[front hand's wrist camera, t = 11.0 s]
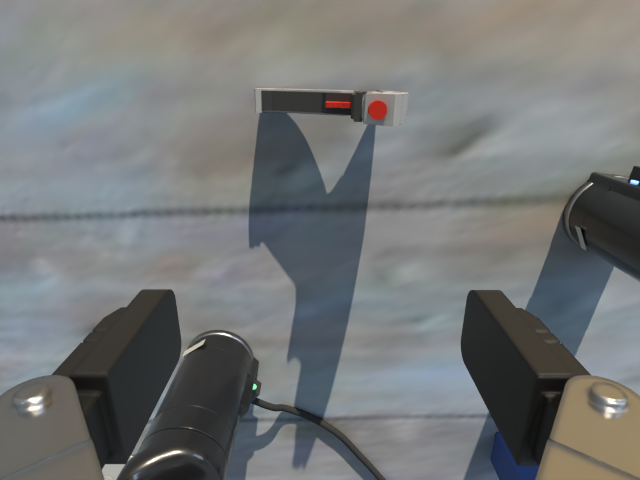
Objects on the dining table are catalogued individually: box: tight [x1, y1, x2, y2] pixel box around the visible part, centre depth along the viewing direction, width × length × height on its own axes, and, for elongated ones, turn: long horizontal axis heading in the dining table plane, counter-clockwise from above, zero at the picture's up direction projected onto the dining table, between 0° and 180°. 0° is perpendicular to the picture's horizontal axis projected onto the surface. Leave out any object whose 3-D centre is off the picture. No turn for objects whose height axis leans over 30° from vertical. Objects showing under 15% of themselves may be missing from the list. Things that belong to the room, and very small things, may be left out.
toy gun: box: [255, 88, 409, 126], centre depth 39 cm, size 2×16×15 cm
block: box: [491, 432, 539, 480], centre depth 60 cm, size 4×6×11 cm
